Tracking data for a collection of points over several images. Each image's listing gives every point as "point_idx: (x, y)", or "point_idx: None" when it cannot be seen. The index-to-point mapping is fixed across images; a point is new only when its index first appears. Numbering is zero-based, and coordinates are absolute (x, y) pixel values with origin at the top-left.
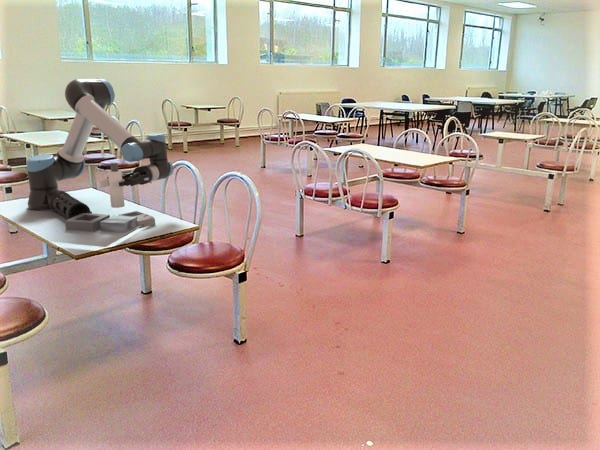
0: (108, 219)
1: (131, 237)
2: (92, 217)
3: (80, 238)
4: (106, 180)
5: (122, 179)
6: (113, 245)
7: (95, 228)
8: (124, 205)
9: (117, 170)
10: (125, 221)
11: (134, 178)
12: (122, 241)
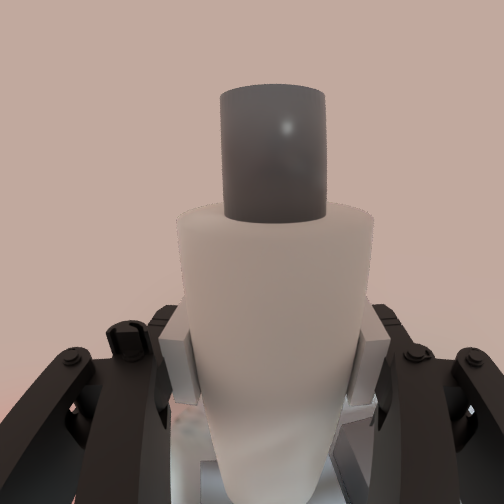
0: (323, 487)
1: (174, 479)
2: None
3: (343, 416)
4: None
5: (173, 325)
6: (194, 407)
7: (341, 452)
8: (227, 494)
9: (225, 203)
10: (213, 492)
11: (39, 409)
12: (185, 439)
